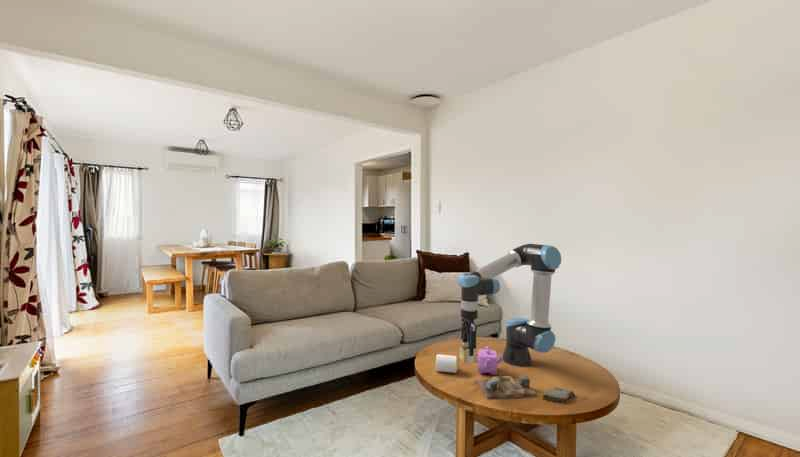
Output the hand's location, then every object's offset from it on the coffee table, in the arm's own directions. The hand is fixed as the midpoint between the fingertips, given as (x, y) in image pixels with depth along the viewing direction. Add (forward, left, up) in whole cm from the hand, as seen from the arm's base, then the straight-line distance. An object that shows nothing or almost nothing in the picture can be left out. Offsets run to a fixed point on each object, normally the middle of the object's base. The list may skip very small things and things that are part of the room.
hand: (467, 359), depth 167 cm
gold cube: (0, 0, 0) cm, 0 cm away
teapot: (-16, -15, -13) cm, 25 cm away
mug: (+4, -19, -13) cm, 23 cm away
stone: (-37, +14, -13) cm, 42 cm away
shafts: (-17, +6, -11) cm, 21 cm away
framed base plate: (-16, +5, -13) cm, 21 cm away
